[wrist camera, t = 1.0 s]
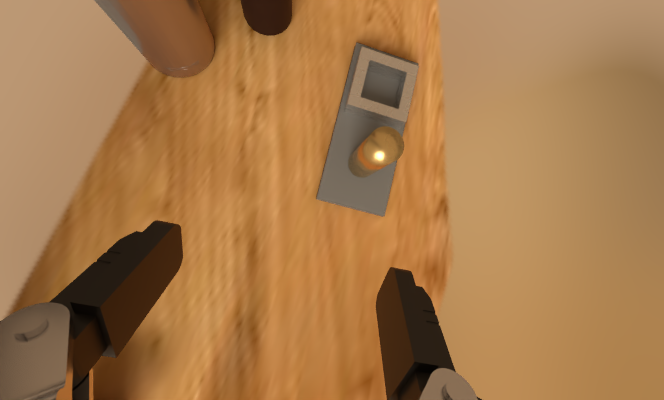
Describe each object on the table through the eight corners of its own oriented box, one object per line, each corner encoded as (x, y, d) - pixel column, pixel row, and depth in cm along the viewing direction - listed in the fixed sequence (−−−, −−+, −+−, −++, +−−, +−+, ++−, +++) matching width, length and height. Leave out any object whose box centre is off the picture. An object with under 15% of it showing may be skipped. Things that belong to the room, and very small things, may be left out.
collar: (399, 128, 40) (406, 122, 38) (343, 111, 39) (347, 103, 37) (411, 75, 41) (418, 66, 39) (357, 57, 40) (361, 46, 38)
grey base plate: (381, 216, 40) (384, 216, 39) (316, 199, 39) (316, 198, 38) (415, 67, 43) (418, 63, 42) (355, 46, 41) (356, 42, 40)
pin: (344, 154, 39) (363, 131, 29) (370, 147, 40) (397, 122, 30) (353, 181, 39) (374, 167, 29) (378, 173, 39) (408, 157, 30)
